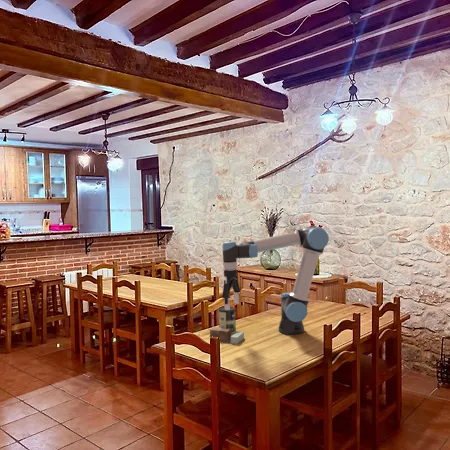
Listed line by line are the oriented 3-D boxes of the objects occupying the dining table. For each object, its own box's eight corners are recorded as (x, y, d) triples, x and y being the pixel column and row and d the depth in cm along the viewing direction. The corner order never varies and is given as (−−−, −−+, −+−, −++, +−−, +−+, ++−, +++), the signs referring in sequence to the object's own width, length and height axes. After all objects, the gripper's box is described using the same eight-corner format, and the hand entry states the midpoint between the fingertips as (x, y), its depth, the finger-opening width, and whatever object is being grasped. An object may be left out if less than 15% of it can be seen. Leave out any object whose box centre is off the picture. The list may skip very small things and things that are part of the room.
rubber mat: (236, 337, 250) (236, 336, 250) (229, 342, 240) (229, 342, 240) (219, 335, 254) (219, 334, 254) (211, 340, 245) (211, 340, 245)
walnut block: (230, 329, 248) (213, 327, 252) (227, 331, 243) (209, 329, 248) (231, 337, 248) (213, 335, 253) (227, 340, 244) (210, 338, 248)
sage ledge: (243, 338, 248) (243, 332, 248) (237, 343, 239) (237, 337, 238) (237, 337, 249) (237, 331, 249) (230, 342, 240) (230, 336, 240)
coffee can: (237, 329, 265) (236, 306, 264) (234, 334, 255) (233, 310, 254) (220, 328, 267) (220, 306, 266) (217, 333, 257) (216, 310, 256)
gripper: (232, 265, 256) (234, 301, 257) (214, 273, 233) (216, 311, 234) (244, 265, 253) (246, 301, 254) (227, 273, 230) (229, 312, 231)
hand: (232, 306), depth 244 cm, fingers open, 13 cm apart
